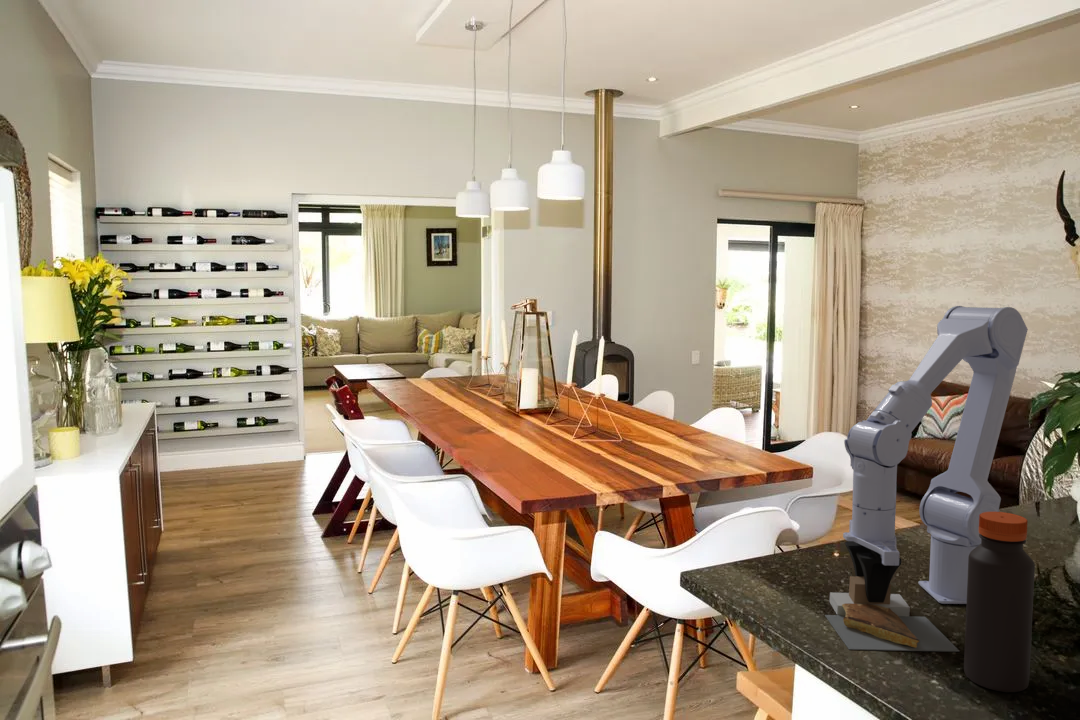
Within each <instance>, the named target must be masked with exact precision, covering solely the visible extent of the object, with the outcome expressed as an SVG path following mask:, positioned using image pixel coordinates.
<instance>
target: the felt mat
mask: <svg viewBox="0 0 1080 720" xmlns="http://www.w3.org/2000/svg"><path fill="white" fill-rule="evenodd" d="M824 616H825V618H826V619H827V621H828V622H829V624H830V626H832V628H833V630H835V632H836V633H837V634H838V636H839V638H840V639H841V640H842V642H843V644H844V645H845V647H846V648H847V649H848V650H849V651H852V650H854V651H888V652H889V651H897V652H898V651H900V652H902V651H903V652H939V653H940V652H943V653H944V652H945V653H947V652H948V653H953V652H954V653H955V652H956V653H960V652H961V651H960V650H959V649H958V647H956V646H955V644H953V643H952V642H951V641H950V640H949V638H947V636H946V635H944V634H943V633H942V632H941V631H940V630H939V629H938V627H936V625H934V624H933V623H932V622H931V620H929V619H928V618H927V617H926V616H917V615H915V616H910V615H909V616H898V617H899V618H900V619H901V620H902V622H904V623H905V625H906V626H907V628H908V629H909V630H910V632H911V633H913V634H914V635H915V637H916V638H917V639H918V640H919V642H918V643H917V647H916V648H914V647H911V646H908V645H902V644H898V643H894V642H892V641H889V640H886V639H881V638H878V637H876V636H874V635H872V634H869V633H866V632H862V631H860V630H858V629H854V628H849V627H847V626H845V624H844V621H843V619H844V617H845V616H846V615H837V614H825V615H824Z"/></svg>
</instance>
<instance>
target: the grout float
mask: <svg viewBox="0 0 1080 720" xmlns="http://www.w3.org/2000/svg"><path fill="white" fill-rule="evenodd" d="M891 591H892V584H891V583H890V584H889V587H888V591H887V594H886V597H885V600H884V602H883V603H876V602H869V601H868V600H867V596H866V590H865V580H864V577H859V576H856V575H855V576H853V575H852V576H850V575H849V587H848V592H831V591H830V592H829V603H830V606H831V607H832V609H833V610H834V612H835V615H846V612H845V610H844V608H843V607H842V604H848V603H850V604H874V605H879V606H882V607H886V608H890V609H891V610H892V611H893V612H894V613H895V614H897V615H898V616H910V612H911V611H910V610H911V607H910V606H909V604H908V603H907V602H906V600H905V599H904V598H903V597H902V595H901V594H900V593H891Z"/></svg>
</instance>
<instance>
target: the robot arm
mask: <svg viewBox="0 0 1080 720" xmlns="http://www.w3.org/2000/svg"><path fill="white" fill-rule="evenodd" d="M936 330H937V331H936V332H937V337H936V339H934V341H933V343H932V345H931V347H930V348H929V349H928V350H927V352H926V354H925V355H924V356H923V358H922V359H921V361H920V362H919V364H918V366H917V368H915V370H914V372H913V373H912V375H911V376H910V378H909V379H908V380H903V381H897V382H896V383H895V384H892V385H891V386H890V387H889V388H888V392H887V394H886V395H885V396H884V397H883V399H882V400H881V401H880V403H879V404H877V406H876V408H875V409H874V410H873V411H872V412H871V414H870V415H868V418H867V419H866V420H861V421H858V422H857V423H856V424H854V425H853V426H852V427H850V429H849V431H848V434H847V435H846V436H847V437H846V438H845V439H844V440H843V442H844V448H845V451H846V453H847V454H848V456H849V458H850V467H851V470H853V473H852V506H851V507H852V508H851V509H852V512H851V519H849V525H848V526H849V529H848V532H843V533H842V538H843V539H845V541H846V542H844V544H845V547H846V549H847V551H848V553H849V555H850V558H851V559H850V560H851V562H852V565H853V569H854V574H855V576H859V577H864V580H865V590H866V596H867V600H868V601H869V602H876V603H883V602H884V600H885V597H886V594H887V591H888V587H889V584H891V581H892V579H893V576H894V574H895V573H896V572H897V570H898V569H899V568H900V566H901V565H902V558H901V557H900V554H901V553H900V551H899V550H898V548H897V537H896V535H895V534H896V514H897V513H896V508H897V507H896V506H897V476H898V475H897V474H898V465H899V464H900V463H901V461H902V460H904V459H905V458H906V457H907V455H908V451H909V443H910V441H911V439H912V436H913V434H912V432H913V431H914V430H915V428H916V427H917V426H918V424H919V423H920V422H921V420H922V419H923V418H924V417H925V416H926V414H927V413H928V412H929V410H930V409H931V408H932V407H933V399H932V396H931V394H932V393H933V392H934V390H936V388H937V387H938V386H939V385H940V384H941V383H942V382H943V381H944V379H945V378H947V376H948V375H949V374H950V373H951V372H952V371H953V370H954V369H955V368H956V367H957V366H958V365H959V364H960V362H961V361H962V360H963V361H964V362H966V363H967V364H968V365H969V366H970V368H971V370H972V372H973V373H972V377H971V381H970V385H969V389H968V392H967V397H966V399H965V404H964V408H963V411H962V415H961V419H960V423H959V426H958V430H957V435H956V437H955V442H954V445H953V446H954V447H953V450H952V453H951V456H950V460H949V465H948V469H947V470H946V471H944V472H943V473H940V474H938V475H937V476H934V477H933V478H931V480H930V484H929V487H928V489H927V491H926V493H925V494H924V496H922V499H921V501H920V503H919V511H918V512H919V517H920V520H921V521H922V523H923V524H924V525H925V526H926V527H927V528H926V532H927V533H928V534H930V552H929V553H930V554H929V555H930V556H929V578H928V579H929V580H919V581H918V582H917V583H918V585H919V586H920V587H921V588H922V589H924V590H925V591H926V592H927V593H928V594H929V595H930V596H931V597H932V598H934V599H935V600H936V601H937V602H938V603H939V604H947V605H948V604H949V605H952V604H953V605H958V604H959V605H967V581H968V557H969V554H970V552H971V551H972V550H973V549H974V548H976V547H977V546H979V545H980V544H981V538H980V537H979V534H980V533H979V515H980V514H981V513H984V512H1000V505H1001V500H1002V498H1001V496H1000V494H999V493H998V492H997V491H996V489H995V488H994V487H993V486H992V484H991V483H989V481H988V479H989V476H990V475H989V474H990V471H991V469H992V468H991V467H992V463H993V459H994V457H995V453H996V449H997V445H998V440H999V437H1000V433H1001V429H1002V426H1003V422H1004V419H1005V415H1006V410H1007V406H1008V404H1009V399H1010V395H1011V391H1012V388H1013V384H1014V382H1015V381H1014V380H1015V377H1016V373H1017V367H1018V366H1019V364H1020V360H1021V356H1022V352H1023V349H1024V346H1025V341H1026V338H1027V334H1028V327H1027V325H1026V322H1025V321H1024V319H1023V317H1022V315H1021V313H1020V312H1019V311H1018V310H1017V309H1016V308H1014V307H1010V306H1006V307H1004V306H1003V307H978V306H977V307H976V306H975V307H974V306H973V307H972V306H962V305H955V306H952V307H951V308H949V309H948V310H947V311H946V312H945V313H944V315H943V318H942V319H941V320H940V321H938V322H937V325H936ZM958 492H961V493H964V494H967V495H969V496H970V497H969V496H965V495H963V494H958Z"/></svg>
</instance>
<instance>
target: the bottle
mask: <svg viewBox="0 0 1080 720" xmlns="http://www.w3.org/2000/svg"><path fill="white" fill-rule="evenodd" d="M1028 523H1029V522H1028V519H1027V518H1025V517H1023V516H1021V515H1018V514H1015V513H1010V512H1003V511H999V512H984V513H981V514H980V515H979V533H980V534H979V537H980V538H981V544H980V545H979V546H977V547H976V548H974V549H973V550H972V551H971V552H970V554H969V557H968V581H967V604H965V605H966V610H965V613H966V614H965V632H964V633H965V634H964V653H963V654H964V657H963V671H964V675H965V676H966V677H967V678H968V679H969V680H970V681H971V682H973V683H974V684H976V685H978V686H981V687H982V688H986V689H989V690H992V691H995V692H1002V693H1018V692H1022V691H1024V690H1026V689H1027V688H1028V687H1029V685H1030V684H1029V683H1030V672H1031V671H1030V669H1031V668H1030V667H1031V649H1032V632H1033V630H1032V628H1033V627H1032V626H1033V611H1034V608H1033V607H1034V588H1035V574H1036V573H1035V571H1036V568H1035V567H1036V564H1035V562H1034V561H1033V559H1032V558H1031V556H1030V555H1029V554H1028V553H1027V552H1026V551H1025V550H1024V545H1025V544H1026V542H1027V539H1028V538H1027V536H1028Z"/></svg>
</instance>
